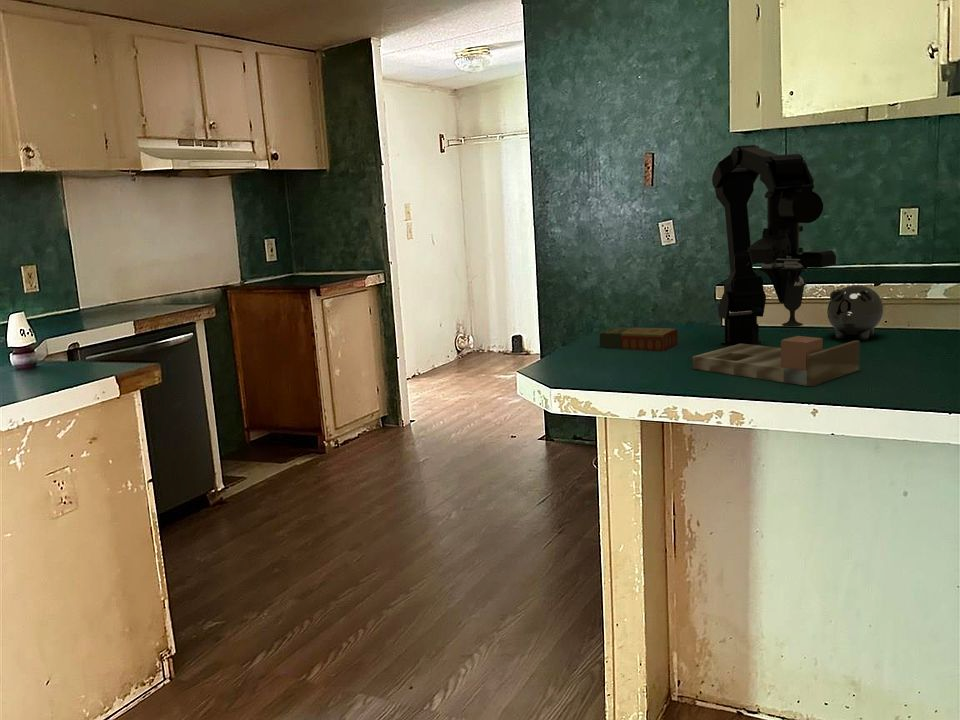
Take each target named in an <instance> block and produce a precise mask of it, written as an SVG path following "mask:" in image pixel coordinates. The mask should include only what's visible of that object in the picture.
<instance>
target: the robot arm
mask: <svg viewBox="0 0 960 720" xmlns="http://www.w3.org/2000/svg"><path fill="white" fill-rule="evenodd" d="M758 177H759V181H761V183H763V184H764V185H765V187H766V189H767V191H766V192H765V194H764V198H765V199H766V200H767V201H766V204H767V210H766V212H767V214H766V215H767V222H766V223H767V224H766V225H767V228H766V227H765V228H763V231H762V235H761V236H762V237H761V238H760V239H758V240H756V241H755V242H753V243H751V234H750V222H749V211H748V210H749V209H748V203H749V201H750V199H751V197H752V195H753V193H754V191H755V190H754V184H755V183H756V180H757V179H758ZM711 181H712V186H713V188H714V191H715V192H714V193H715V197H716V199H717V200H718V202H719V203H720V204H721V205H722V207H724V215H725V227H726V238H727V248H728V261H729V271H730V272H729V275H728V277H727V279H726V281H725V283H724V285H723V294H722V296H721V299H720V302H719V304H718V306H717V315H718V318H720V319H724V341H721V342H720V345H722V346H723V345H724V346H729V347H730V346H733V345H737V344H750V345H759V344H761V343H762V340H760V339H759V329H760V328H759V323H758V317H763V316H764V314H765V306H766V301H767V295H766V292H765V290H764V280H763V277H762V276H761V275H758V274H757V273H756V272H755V270H754V266H753V265H757V264H760V265H761V267H759V268H758V269H759V271H760V272H763V273H764V274H765V275H767V276H768V278H769V280H770V281H771V284H772V286H773V289H774V291H775V294H776V297H777V300H778V302H779V303H780V304H784V303H786V302H787V299H788V297H789V295H790V293H791V291H792V289H793V287H794V285H795V283H796V281H797V279H798V277H799V276H800V277H801V274H802V272H803V271H804V270H808V269H820V268H822V269H823V268H827V267H831V266H836V265H837V256H836V254H835V251H833V250H832V249H831V250H830V249H815V250H809V251H803V250H804V249H803V247H800V232H803V231H804V226H803V225H800V224H810V223H813V222H815V221H816V220H818V219H819V218H820V217H821V216H822V213H823V210H824V202H823V200H822V198H821V196H820V195H819V194H818V193H816V192H815V191H813V190H814V188H815V185H814V178H813V175H812V174H811V172H810V170H809V167H808V165H807V162H806V160H805V159H804V157H803V155H802V154H800V153H791V154H778V153H774V152H772V151H769V150H767V149H764V148H761V147H760V146H758V145H755V144H748V145H747V144H746V145H737V146H736V147H735V146H734V147H733V148H732V150H731V152H730V154H728V155H727V156H726V157H724V158H723V159H722V160H720V161H719V162H718V163H717V165H716V166H715V169H714V171H713V173H712V179H711Z"/></svg>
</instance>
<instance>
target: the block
mask: <svg viewBox="0 0 960 720" xmlns="http://www.w3.org/2000/svg"><path fill="white" fill-rule="evenodd" d="M780 348H781V367H782V368H789V369H796V370H804V371H807V355H809V354H812V353H815V352H818V351H822V350H823V338H822V337H813V336H805V335H804V336H801V335H795V336H792V337H787V338H784V339H781V340H780Z"/></svg>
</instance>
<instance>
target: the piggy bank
mask: <svg viewBox="0 0 960 720" xmlns="http://www.w3.org/2000/svg"><path fill="white" fill-rule="evenodd" d="M829 299H830V300H829V302H828V305H827V309H826V313H827V320H828V321H829V324H830V325H831V326H832V327H833V328H834V330H835V338H836V339H839V340H843V339H845V338H846V336H847V335H852V336H853V335H854V336H855V335H858V338H859V340H862V341H867V340H869V338H870V337H873V336H874V333H875V328H876V327H877V326H878V325H879V324H880V322H881V320H882V318H883V315H884V303H883V301H882V298H881V296H880V295H879V294H878V293H877V292H876V291H875V290H874V289H872V288H870V287H868V286H865V285H859V284H855V285H854V284H853V285H849V286H846V287H843V288H841V289H834V290H833V291H831V292H830V295H829Z"/></svg>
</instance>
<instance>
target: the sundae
mask: <svg viewBox="0 0 960 720" xmlns="http://www.w3.org/2000/svg"><path fill="white" fill-rule="evenodd" d="M807 285H808V283H806V282H805V280H804V279H803V278H802V277H801V275H800V276H799V277H798V279H797V281H796V283H795V285H794V287H793V289H792V291H791V293H790V295H789V297H788V299H787V302H786V303H783V306H784V308H785V309H786V310H788V311H789V319H788V321H787V322H784V323H782V324H781V326H782V327H789V328H790V327H791V328H792V327H793V328H794V327H802V326H804V323H802V322H799V321H797V320H796V311H797V310H798V309H800V307H801V306H802V302H803V297H804V295H803V294H804V290H805V287H806V286H807Z"/></svg>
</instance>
